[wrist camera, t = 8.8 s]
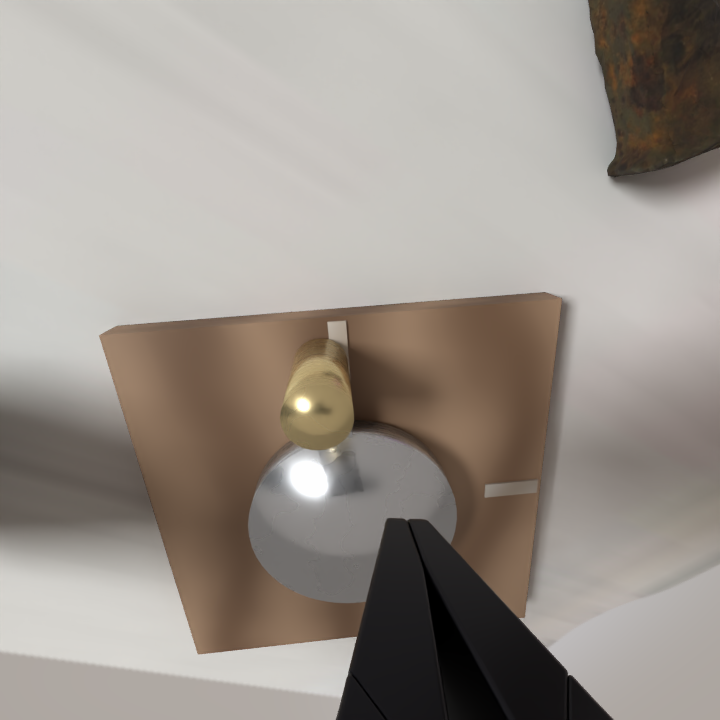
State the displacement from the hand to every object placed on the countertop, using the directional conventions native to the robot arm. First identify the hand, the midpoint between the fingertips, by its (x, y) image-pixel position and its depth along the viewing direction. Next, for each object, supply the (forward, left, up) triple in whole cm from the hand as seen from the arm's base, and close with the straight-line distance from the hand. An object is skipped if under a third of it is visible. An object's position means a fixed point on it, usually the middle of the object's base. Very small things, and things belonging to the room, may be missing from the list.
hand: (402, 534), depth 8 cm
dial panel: (-1, -8, -12) cm, 14 cm away
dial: (-1, -6, -10) cm, 12 cm away
